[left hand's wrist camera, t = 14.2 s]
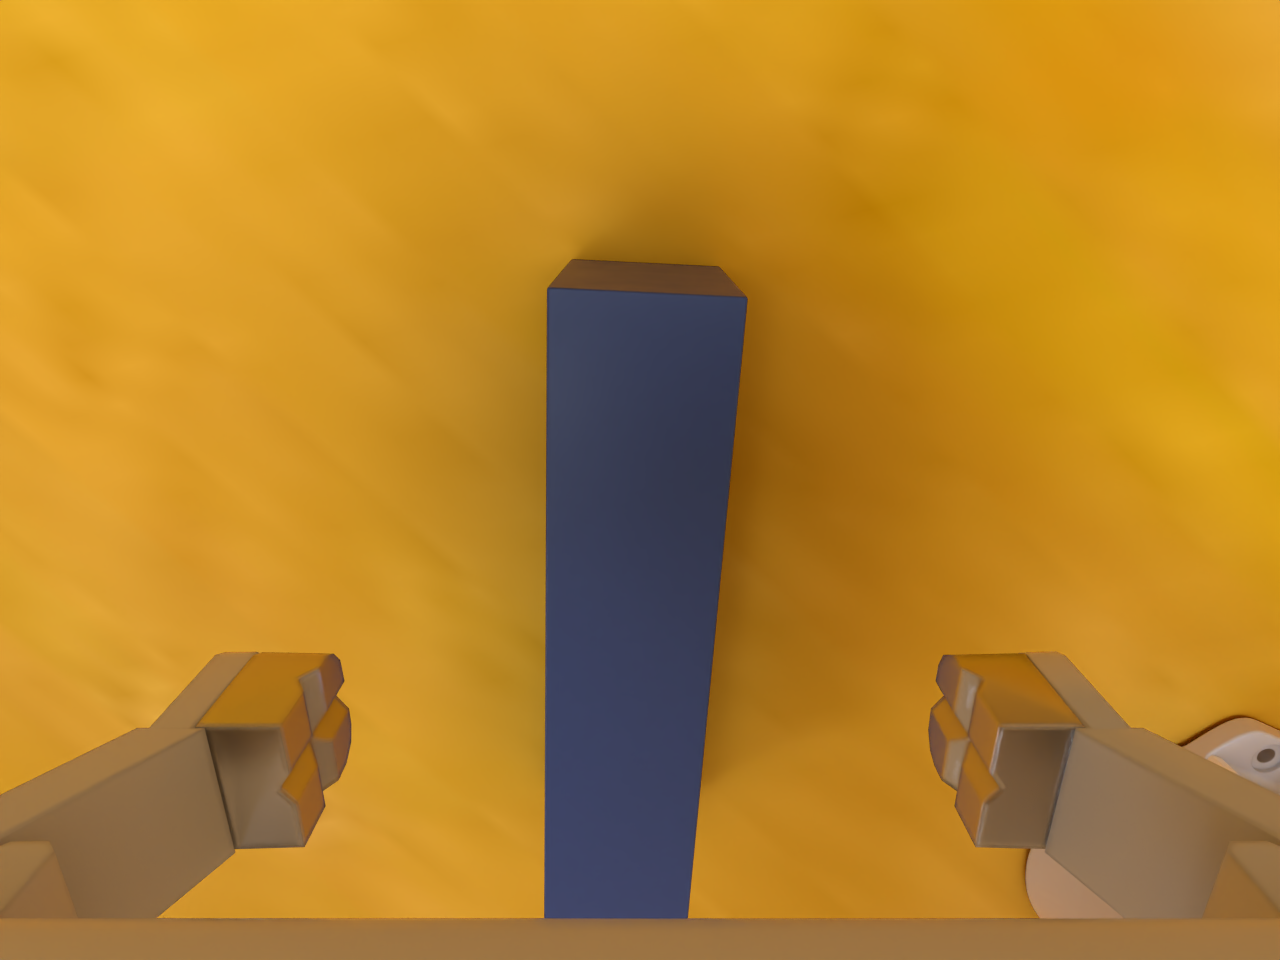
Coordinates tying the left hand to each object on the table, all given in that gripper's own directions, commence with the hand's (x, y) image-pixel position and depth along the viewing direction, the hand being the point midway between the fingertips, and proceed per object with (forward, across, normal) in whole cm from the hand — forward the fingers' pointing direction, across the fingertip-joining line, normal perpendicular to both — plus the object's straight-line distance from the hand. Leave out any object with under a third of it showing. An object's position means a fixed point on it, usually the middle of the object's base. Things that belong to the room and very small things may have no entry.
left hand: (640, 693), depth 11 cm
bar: (+23, 0, -10) cm, 25 cm away
